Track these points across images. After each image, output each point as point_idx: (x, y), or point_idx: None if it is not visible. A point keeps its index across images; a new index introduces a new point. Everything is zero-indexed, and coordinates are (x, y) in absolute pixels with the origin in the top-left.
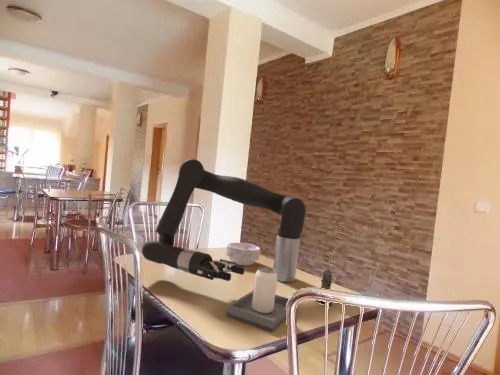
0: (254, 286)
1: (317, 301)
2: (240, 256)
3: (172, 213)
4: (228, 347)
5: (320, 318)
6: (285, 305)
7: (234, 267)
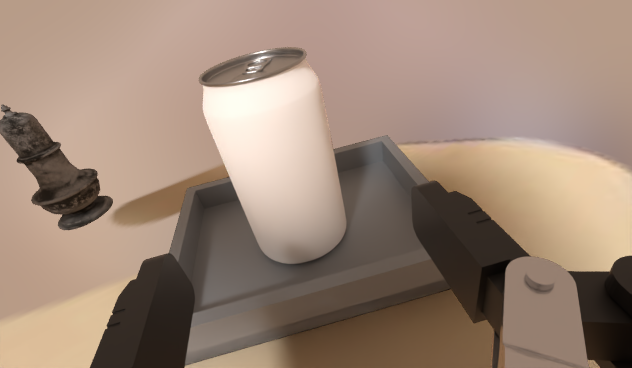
0: (319, 162)
1: (89, 217)
2: None
3: None
4: (572, 152)
5: (211, 169)
6: (205, 222)
7: (149, 361)
